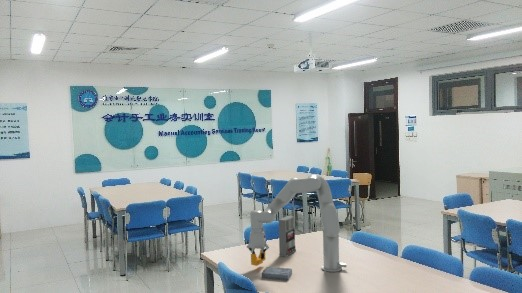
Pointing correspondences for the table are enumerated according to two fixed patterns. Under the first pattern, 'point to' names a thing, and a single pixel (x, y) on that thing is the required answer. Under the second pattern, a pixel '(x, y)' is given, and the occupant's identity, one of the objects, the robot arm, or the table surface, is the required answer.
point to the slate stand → (276, 273)
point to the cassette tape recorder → (286, 236)
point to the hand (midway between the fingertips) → (258, 258)
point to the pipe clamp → (257, 259)
